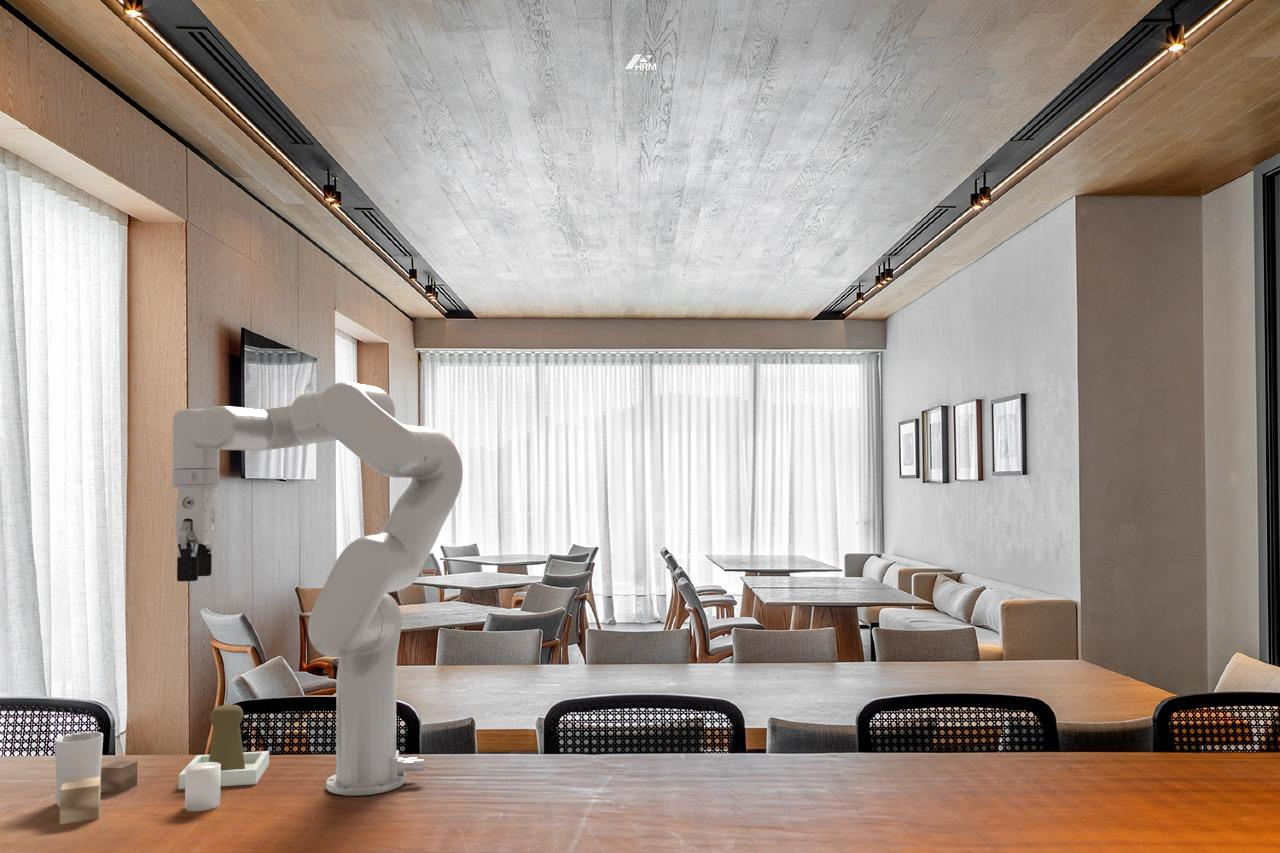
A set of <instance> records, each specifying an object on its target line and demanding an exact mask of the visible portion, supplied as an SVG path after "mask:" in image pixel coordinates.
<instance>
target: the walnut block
mask: <svg viewBox="0 0 1280 853" xmlns="http://www.w3.org/2000/svg"><path fill="white" fill-rule="evenodd" d="M138 764H139V762H138V760H113V761H111V762H108V763H107V764H104V765H101V792H100V793H117V794H118V793H119V794H120V793H123V792H126V791H129V789H133V788H134V787H137V786H138V768H139V767H138Z"/></svg>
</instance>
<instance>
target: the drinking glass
mask: <svg viewBox="0 0 1280 853" xmlns="http://www.w3.org/2000/svg"><path fill="white" fill-rule="evenodd" d="M103 743H104V733H103V732H98V731H83V732H82V731H80V732H75V733H69V734H63V735H61V736H59V737H57V738H55V739H54V752H55V755H54V756H55V784H56V786H55V787H56V806H57V807H59V808H60V790H61V787H62V784H63V781H71V780H79V779H87V778H95V777H101V766H102V757H103V748H104V747H103V745H104V744H103Z"/></svg>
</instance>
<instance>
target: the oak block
mask: <svg viewBox="0 0 1280 853" xmlns="http://www.w3.org/2000/svg"><path fill="white" fill-rule="evenodd" d="M101 793H102V792H101V777H95V778H87V779H79V780H71V781H63V784H62V787H61V790H60V807H59V825H67V824H73V823H74V824H75V823H81V822H87V821H88V822H89V821H94V820H99V818H100V814H101V813H100V812H101Z"/></svg>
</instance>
